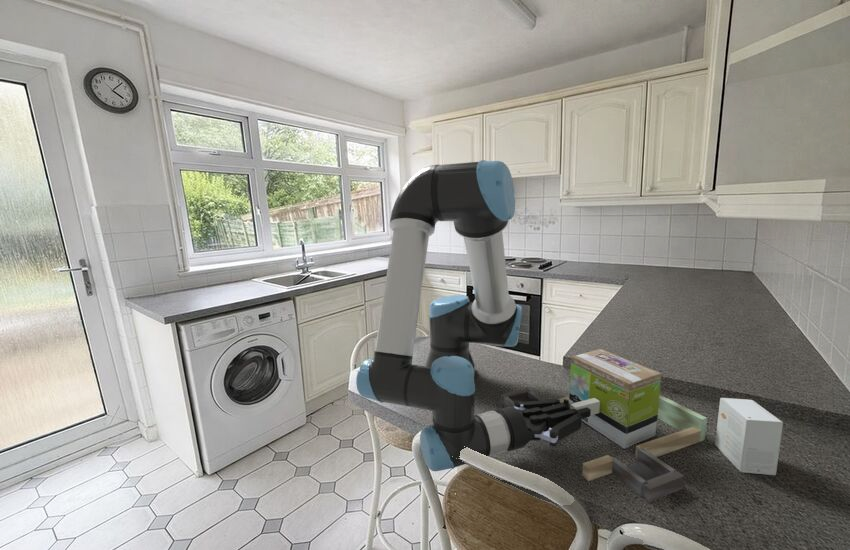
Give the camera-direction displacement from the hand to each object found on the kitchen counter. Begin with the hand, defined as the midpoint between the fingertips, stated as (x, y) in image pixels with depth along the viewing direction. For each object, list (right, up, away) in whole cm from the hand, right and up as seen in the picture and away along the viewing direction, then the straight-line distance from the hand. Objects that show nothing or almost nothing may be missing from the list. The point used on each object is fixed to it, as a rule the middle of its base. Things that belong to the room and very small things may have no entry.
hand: (596, 405), depth 75 cm
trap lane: (+3, -6, +2) cm, 7 cm away
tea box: (+5, -6, +4) cm, 9 cm away
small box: (+24, -8, -8) cm, 26 cm away
